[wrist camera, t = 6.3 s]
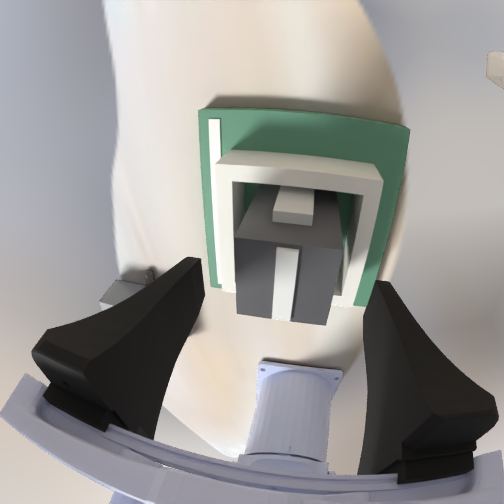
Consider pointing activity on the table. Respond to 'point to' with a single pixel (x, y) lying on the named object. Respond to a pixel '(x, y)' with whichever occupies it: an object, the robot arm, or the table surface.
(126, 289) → the gray button box
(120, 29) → the table surface
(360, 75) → the table surface
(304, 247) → the plug
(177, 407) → the table surface
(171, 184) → the table surface
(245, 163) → the board
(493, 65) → the cable organizer
